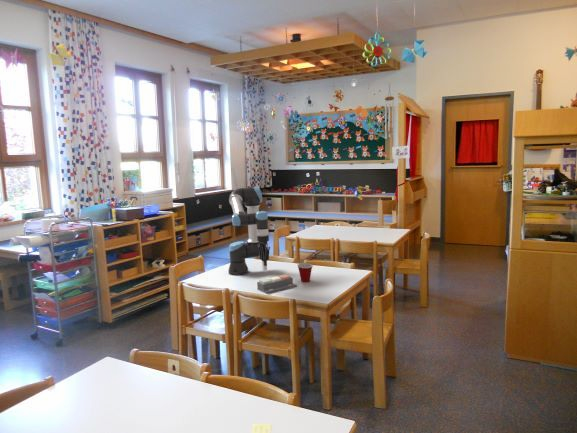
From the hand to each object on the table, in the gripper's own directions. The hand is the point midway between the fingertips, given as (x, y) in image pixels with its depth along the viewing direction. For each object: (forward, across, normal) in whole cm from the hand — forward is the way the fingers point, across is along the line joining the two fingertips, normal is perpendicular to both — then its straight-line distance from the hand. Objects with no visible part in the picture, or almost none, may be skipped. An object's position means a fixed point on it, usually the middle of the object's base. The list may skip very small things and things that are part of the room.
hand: (264, 270), depth 289 cm
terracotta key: (+10, 0, +15) cm, 18 cm away
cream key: (+10, 0, +7) cm, 12 cm away
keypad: (+13, +2, +8) cm, 15 cm away
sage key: (+10, 0, 0) cm, 10 cm away
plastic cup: (+13, +3, +30) cm, 33 cm away
